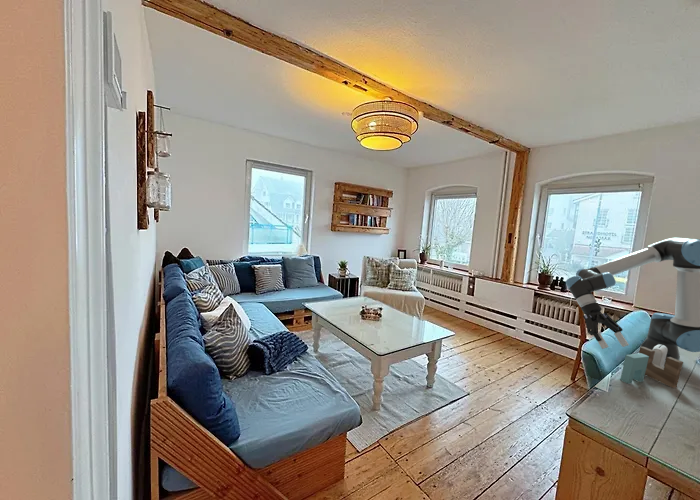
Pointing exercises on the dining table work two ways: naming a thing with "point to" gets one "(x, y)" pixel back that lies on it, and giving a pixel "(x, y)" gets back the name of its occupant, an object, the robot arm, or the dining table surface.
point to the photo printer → (660, 355)
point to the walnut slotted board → (663, 369)
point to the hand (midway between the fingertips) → (615, 347)
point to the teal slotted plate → (634, 367)
